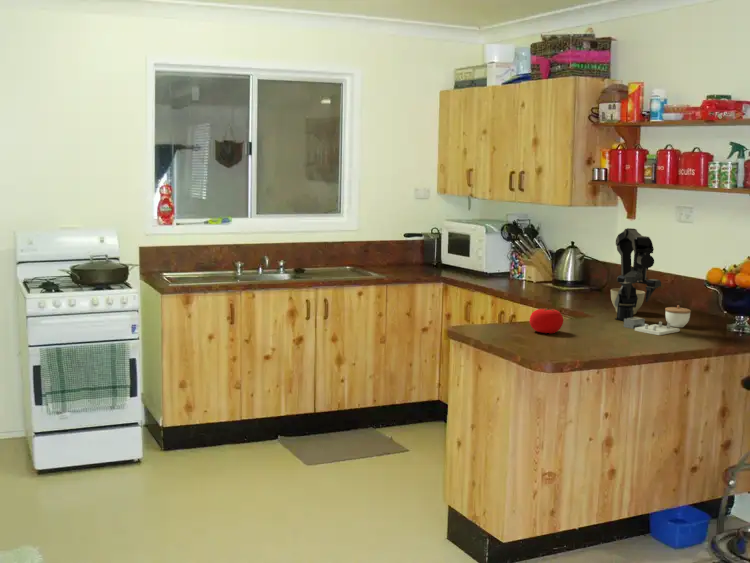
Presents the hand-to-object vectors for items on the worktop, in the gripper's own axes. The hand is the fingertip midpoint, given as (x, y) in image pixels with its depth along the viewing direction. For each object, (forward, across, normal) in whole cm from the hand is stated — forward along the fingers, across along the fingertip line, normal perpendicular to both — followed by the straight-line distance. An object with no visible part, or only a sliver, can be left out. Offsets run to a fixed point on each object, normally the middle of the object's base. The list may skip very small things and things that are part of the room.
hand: (637, 300), depth 401 cm
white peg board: (+12, +11, 0) cm, 16 cm away
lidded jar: (+12, +9, +19) cm, 24 cm away
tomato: (+12, -15, -45) cm, 49 cm away
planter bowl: (+12, -23, +30) cm, 40 cm away
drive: (+12, 0, 0) cm, 12 cm away
